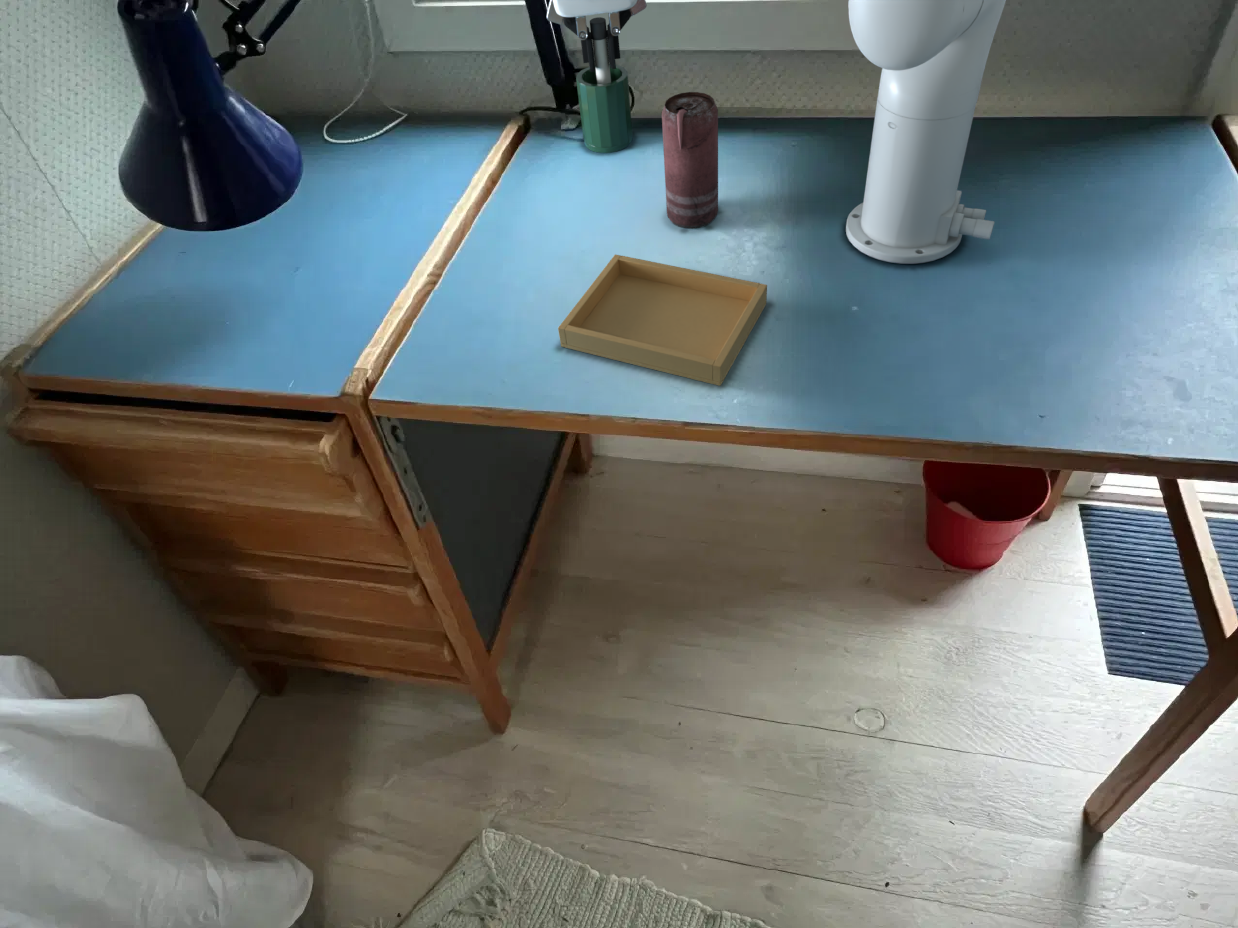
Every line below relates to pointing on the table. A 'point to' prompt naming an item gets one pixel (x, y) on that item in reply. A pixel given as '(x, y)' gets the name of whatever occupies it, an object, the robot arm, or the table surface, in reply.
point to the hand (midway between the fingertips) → (602, 65)
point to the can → (691, 159)
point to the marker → (600, 49)
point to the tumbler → (605, 110)
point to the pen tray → (665, 318)
